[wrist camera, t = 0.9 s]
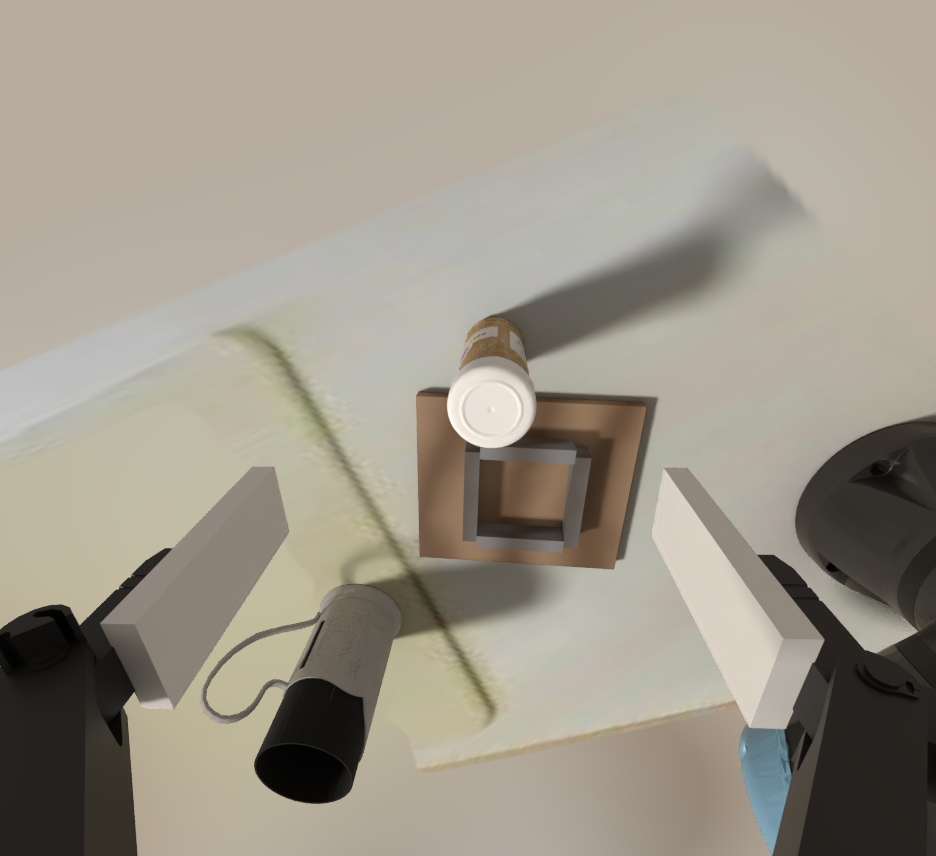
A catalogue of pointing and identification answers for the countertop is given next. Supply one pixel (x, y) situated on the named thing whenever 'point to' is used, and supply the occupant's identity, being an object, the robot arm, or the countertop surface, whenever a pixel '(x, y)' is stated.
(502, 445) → the sprinkles bottle
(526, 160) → the countertop surface
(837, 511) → the robot arm
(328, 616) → the grey mug
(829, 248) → the countertop surface
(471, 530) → the socket board
